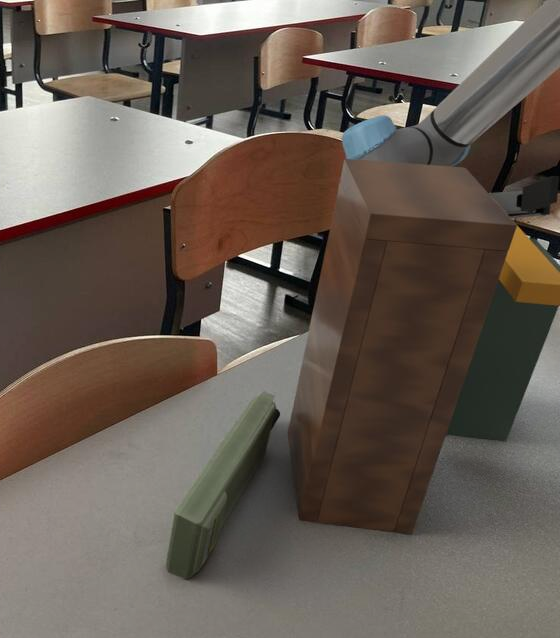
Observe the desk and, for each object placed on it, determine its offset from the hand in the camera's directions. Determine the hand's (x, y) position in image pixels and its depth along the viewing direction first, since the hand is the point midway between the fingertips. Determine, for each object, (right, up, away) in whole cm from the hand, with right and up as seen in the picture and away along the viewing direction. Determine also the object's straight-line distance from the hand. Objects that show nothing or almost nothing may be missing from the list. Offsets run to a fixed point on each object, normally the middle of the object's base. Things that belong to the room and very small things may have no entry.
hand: (486, 183), depth 80 cm
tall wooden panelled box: (-17, -30, -6) cm, 35 cm away
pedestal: (-2, -25, +5) cm, 25 cm away
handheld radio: (-29, -31, -7) cm, 43 cm away
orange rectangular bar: (-2, -8, -5) cm, 9 cm away
